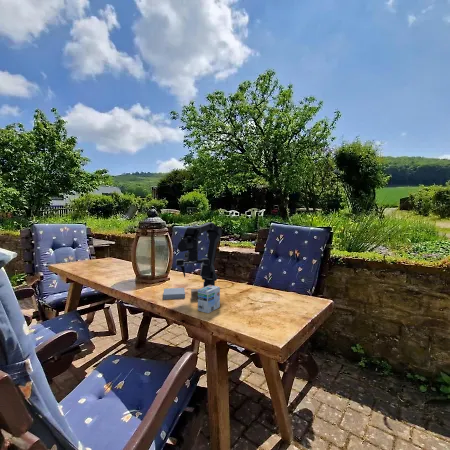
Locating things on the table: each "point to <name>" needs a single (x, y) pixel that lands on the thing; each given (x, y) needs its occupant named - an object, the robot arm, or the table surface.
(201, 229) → the robot arm
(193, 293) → the walnut cube
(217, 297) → the light bulb box
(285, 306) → the table surface
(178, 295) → the slate block
